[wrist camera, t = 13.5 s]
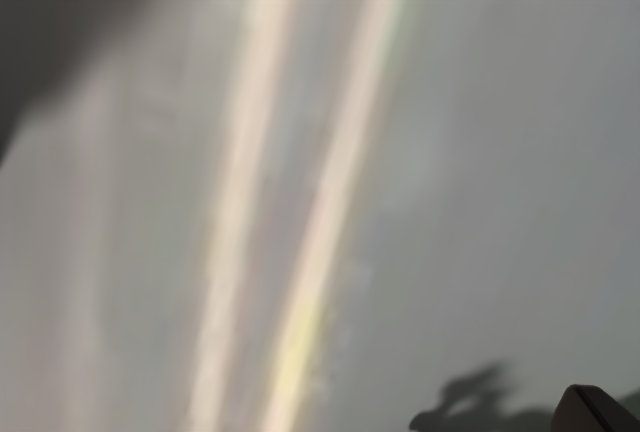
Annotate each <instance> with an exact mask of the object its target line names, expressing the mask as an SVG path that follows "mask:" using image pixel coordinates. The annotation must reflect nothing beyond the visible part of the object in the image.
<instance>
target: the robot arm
mask: <svg viewBox="0 0 640 432" xmlns="http://www.w3.org/2000/svg"><path fill="white" fill-rule="evenodd" d="M550 432H640V420H638V419H637V418H636V417H635V416H633V415H632V414H631V413H630V412H629V411H627V410H626V409H625V408H624V407H623V406H621V405H620V404H619V403H618V402H617V401H615V400H614V399H613V398H612V397H611V396H609V395H608V394H607V393H606V392H604V391H603V390H602V389H600V388H599V387H597V386H593V385H577V384H574V385H570V386H569V387H568V388H567V389H566V390H565V392H564V394H563V396H562V398H561V400H560V402H559V404H558V406H557V408H556V410H555V412H554V414H553V416H552V418H551V422H550Z"/></svg>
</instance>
